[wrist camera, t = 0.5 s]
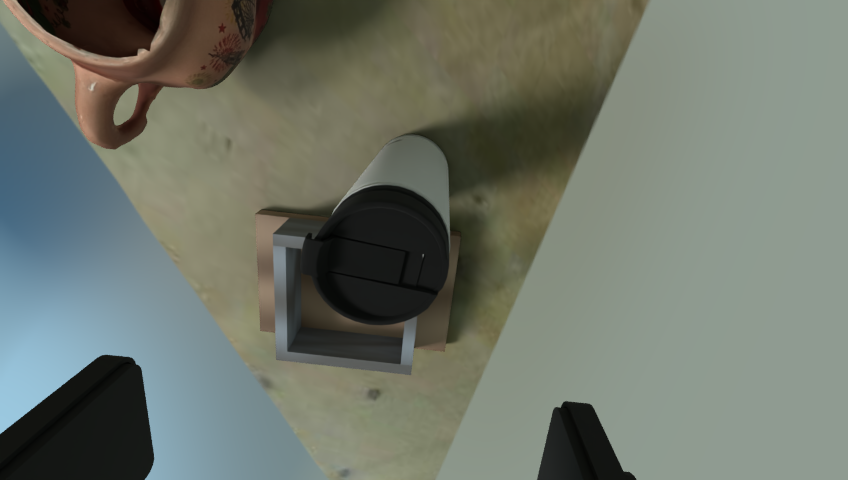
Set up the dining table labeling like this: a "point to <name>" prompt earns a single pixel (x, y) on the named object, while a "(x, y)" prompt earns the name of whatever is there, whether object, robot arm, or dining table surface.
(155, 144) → the dining table surface
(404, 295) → the travel mug
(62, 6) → the pink sculpted mug
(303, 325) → the jig cradle
